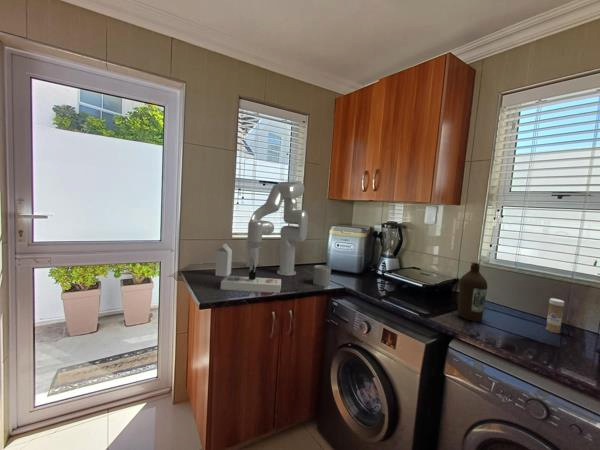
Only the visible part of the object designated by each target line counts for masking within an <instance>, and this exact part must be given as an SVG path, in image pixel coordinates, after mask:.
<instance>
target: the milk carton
mask: <svg viewBox="0 0 600 450" xmlns="http://www.w3.org/2000/svg"><path fill="white" fill-rule="evenodd" d="M215 255H216V256H215V257H216V258H215V276H216V277H224V278H225V277H226V276H231V274H232V259H233V256H232V255H233V250H232V249H231V248H230V247H229V246H228V243H223V244H222V245H220V246H219V247H218V250H216V254H215Z"/></svg>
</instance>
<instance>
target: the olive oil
mask: <svg viewBox="0 0 600 450" xmlns="http://www.w3.org/2000/svg"><path fill="white" fill-rule="evenodd" d="M480 264H481V263H479V262H476V261H475V262H474V261H473V262H471V264H470V270H469V271H467V272H466V273H465V274H463V275H462V276H461V278H460V280H459V291H458V306H457V307H458V308H457V316H458V315H459V316H460V318H461V317H463V318H465V319H464V320H466V319H468V320H467V321H470V320H472V322H482V321H481V320H483V316H484V312H485V305H486V304H485V303H486V298H487V292H488V281H487V280H486V279H485V277H484V276H483V275H482V273H480V269H481V267H480ZM459 316H458V317H459ZM463 318H462V319H463Z"/></svg>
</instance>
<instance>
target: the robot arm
mask: <svg viewBox="0 0 600 450" xmlns="http://www.w3.org/2000/svg"><path fill="white" fill-rule="evenodd" d="M304 193H305V185H304V184H303V183H302V182H299V181H281V182H279V183H276V184H273V186H272V188H271V190H270V193H269V195H268V197H267V198H266V201H265V203H264V204H262V205H261V206H259V208H257V209H256V210H254V212H253V214H252V215H251V217H250V218H249V219H250V220H249V221H248V224H247V225H248V226H247V240H246V241H247V242H246V248H248V250H247V256H246V258H247V259H246V267H247V268H248V267H249V273H248V277H249V279H253V280H255V278H257V266H258V264H259V258H260V257H259V256H260V249H262V245H263V244H262V240H263V235H265V236H268V235H269V236H270V235H271V234H273V232H274V231H275V226H274V224H273V222H272V221H269V220H268V221H267V220H262V219H263V218H264V217H266V216H268V215H271V214H275V213H276V212H279V210H280V209H281V206H282V203H283V221H284V222H285V224H292V225H283V226H282V227H281V228H280V232H279V233H280V257H279V269H278V270H277V271H276V274H278V275H281V276H289V277H290V276H295V275H296V274H297V272H296V270H295V259H296V245H295V243H294V242H300V243H301V242H305V241H306V240H307V236H308V224H309V223H308V221H309V218H308V217H309V215H308V213H307V211H306V210H304V209H298V200H297V198H299V197H302V195H303V194H304ZM295 225H296V226H295ZM297 225H298V226H297Z"/></svg>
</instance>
